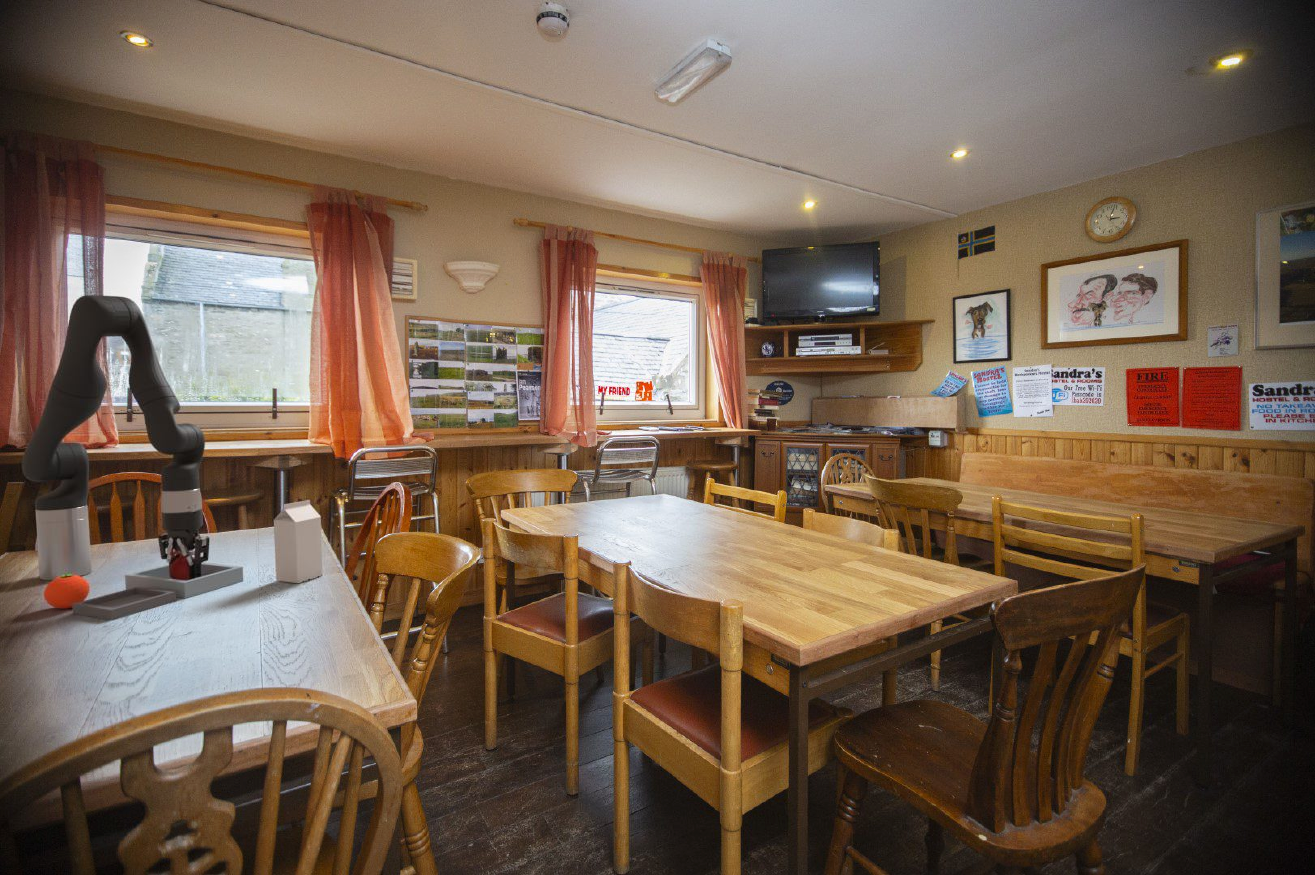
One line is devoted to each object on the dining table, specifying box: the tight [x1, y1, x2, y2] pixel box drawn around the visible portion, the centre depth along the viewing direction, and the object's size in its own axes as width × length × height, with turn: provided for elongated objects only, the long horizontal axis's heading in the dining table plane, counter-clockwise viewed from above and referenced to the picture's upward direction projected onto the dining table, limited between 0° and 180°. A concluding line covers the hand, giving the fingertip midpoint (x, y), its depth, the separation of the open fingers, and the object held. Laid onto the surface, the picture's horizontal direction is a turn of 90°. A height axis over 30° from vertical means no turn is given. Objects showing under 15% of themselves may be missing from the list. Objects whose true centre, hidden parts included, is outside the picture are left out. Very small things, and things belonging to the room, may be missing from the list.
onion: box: [169, 553, 194, 581], centre depth 143 cm, size 6×6×8 cm
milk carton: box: [273, 499, 324, 584], centre depth 148 cm, size 7×7×19 cm
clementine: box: [43, 574, 91, 609], centre depth 128 cm, size 8×7×7 cm
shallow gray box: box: [124, 561, 244, 599], centre depth 143 cm, size 19×13×4 cm
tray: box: [71, 587, 177, 621], centre depth 128 cm, size 12×12×2 cm
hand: (185, 578), depth 143 cm, fingers closed on onion, 6 cm apart
